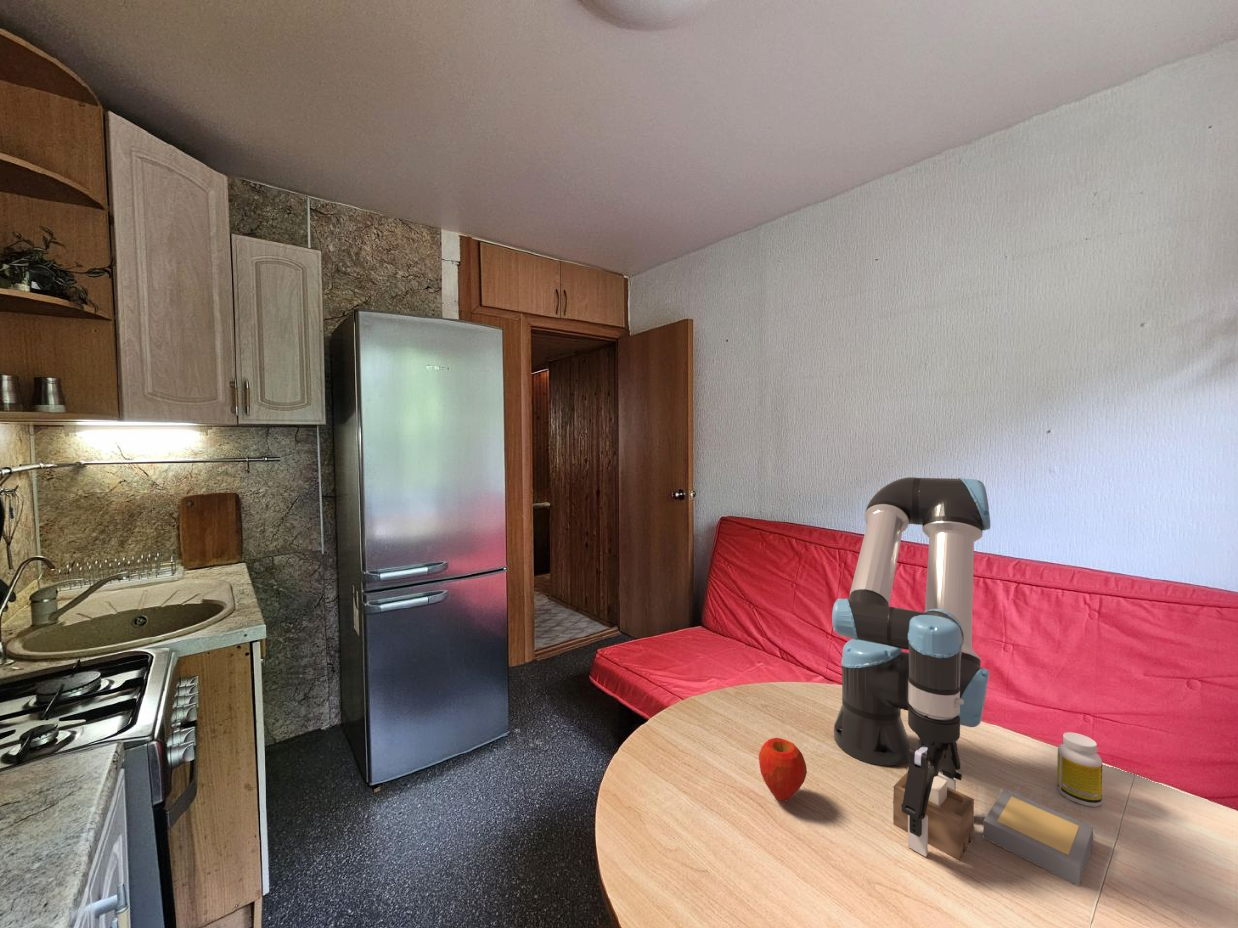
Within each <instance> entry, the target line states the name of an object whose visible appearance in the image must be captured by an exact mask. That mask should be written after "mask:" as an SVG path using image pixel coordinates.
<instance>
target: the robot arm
mask: <svg viewBox="0 0 1238 928" xmlns="http://www.w3.org/2000/svg"><path fill="white" fill-rule="evenodd" d="M987 494H988V492H987V490H986V485H985V484H984V483H983V482H982V481H981V480H979V479H973V478H972V479H971V478H964V477H963V478H962V477H958V478H946V477H945V478H943V477H942V478H938V477H937V478H936V477H935V478H934V477H914V476H911V477H910V476H909V477H904V478H899V479H896V480H894V481H891V482H889V483H888V484H886V485H884V486H883V487H882V488H880V489H879V490H878V491H877V492H876V493H875V494H874V495H873V496H872V497H871V499H870V501H869V502H868V504H867V505H866V510H865V513H864V521H865V524H866V528H865V532H864V536H863V538H862V543H861V548H860V551H859V555H858V559H857V563H856V567H855V571H854V576H853V581H852V584H851V587H850V590H849V597H848V598H837V599H836V600H835V602H834V603H833V606H832V613H831V621H832V622H831V623H832V625H831V626H832V629H833V631H834V632H835V633H836V634H837V635H839V636H842V637H846V638H849V639H850V640H848V641H847V642H846V643H844V646H843V648H842V658H841V661H840V663H841V691H842V692H841V697H842V698H841V699H842V701H841V707H840V708H839V711H838V714H837V717H836V720H835V722H834V724H833V739H834V741H835V743H836V745H837V747H838V748H840V749H841V750H842V751H843V752H845V753H846V754H847V755H849V756H851V757H852V758H856V759H857V760H860V761H862V762H865V763H867V764H868V763H869V764H873V765H878V766H897V765H901V764H904V763H905V762H907V761H908V760H909V761H908V764H909V765H908V769H907V772H908V775H907V781H906V787H905V793H904V799H903V804H901V807H902V812H904V813H905V814H907V815H908V832H907V847H908V848H910V849H911V850H912V851H915V852H917V854H920V855H922V856H923V857H926V858H927V856H928V850H929V849H928V848H929V844H928V816H927V815H925V814H926V809H927V805H928V801H929V796H930V792H931V788H932V783H933V779H934V777H935V776H938V777H940V778H942V779H945V780H947V787H949V788H951V789H953V790H955V791H957V788H956V787H957V780H958V781H962V778H963V774H962V773H961V772H958V771H960V769H961V767H962V766H961V761H960V755H959V751H958V744H957V741H958V740H959V739H960V738H961V737H960V736H961V726H964V727H967V728H975V727H978V726H980V724H981V722H982V719H983V713H984V708H985V703H986V697H987V690H988V684H989V678H990V671H989V670H988V669H986V668H985V667H981V661H982V660H981V657H980V656H979V655H978V654H977V653H976V652H975V651H974V650H973V646H972V645H973V609H974V608H973V607H974V606H973V605H974V604H973V603H974V602H973V601H974V599H973V598H974V595H973V594H974V592H973V591H974V555H975V552H974V551H975V542H976V541H978V540H980V539H982V537H983V531H986V530H987V531H988V530H990V529H991V515H990V506H989V499H988V495H987ZM909 525H916V526H919V525H920V526H922V527H921V529H922V532H923V534H925V536H926V537H928V552H927V553H928V554H927V569H926V570H927V571H926V584H925V585H926V587H925V589H926V590H925V603H924V604H925V606H924V611H919V610H913V609H912V610H911V609H906V608H900V607H894V606H890V602H891V598H892V591H893V585H894V580H895V574H896V568H897V563H898V557H899V554H900V553H899V552H900V547H901V541H902V535H903V533H904V532H905V531H906V530H907V529H908V526H909ZM903 650H907V651H908V652H906V651H903ZM901 710H902V711H903V710H904V711H907V714H908V715H907V716H908V717H907V724H908V726H909V728H910V730H912V731H913V733H915V735H917V737H918V739H917V741H916V744H915V748H913V747H911V744H910V740H909V737H908V734H907V731H906V728H905V725H904V722H903V719H902V715H901V713H902V712H901ZM955 779H956V780H955Z"/></svg>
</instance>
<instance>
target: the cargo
mask: <svg viewBox="0 0 1238 928" xmlns="http://www.w3.org/2000/svg"><path fill="white" fill-rule="evenodd" d="M946 798H947V780H945V779H942V778H940V777H938V776H935V777H934V779H933V783H932V788H931V792H930V796H929V801H930V802H932V803H934V804H936V805H939V806H941V805H942V803H943V802H944V801H945V799H946Z"/></svg>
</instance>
